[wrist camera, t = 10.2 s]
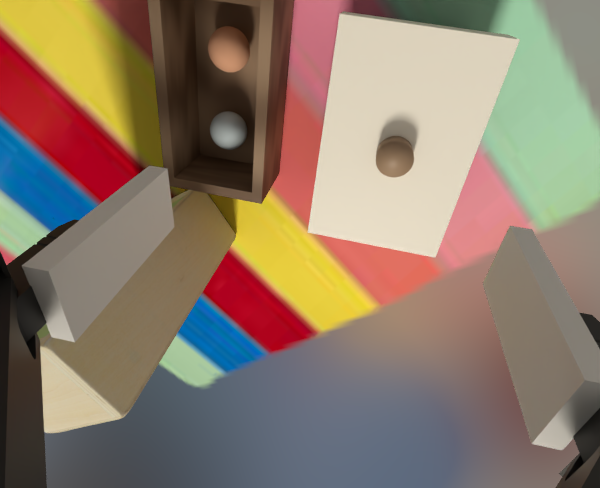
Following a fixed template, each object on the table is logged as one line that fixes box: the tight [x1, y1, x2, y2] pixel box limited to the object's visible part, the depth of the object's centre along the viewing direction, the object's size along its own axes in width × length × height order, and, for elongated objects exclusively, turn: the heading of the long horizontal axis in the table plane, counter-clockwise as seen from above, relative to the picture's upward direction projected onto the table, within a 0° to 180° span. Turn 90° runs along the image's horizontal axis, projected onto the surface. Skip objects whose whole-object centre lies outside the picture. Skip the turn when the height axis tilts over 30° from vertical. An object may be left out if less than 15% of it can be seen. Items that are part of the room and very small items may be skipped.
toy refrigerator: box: [37, 190, 236, 433], centre depth 32 cm, size 8×7×21 cm
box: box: [148, 0, 294, 204], centre depth 29 cm, size 14×8×6 cm, turn 174°
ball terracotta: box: [208, 26, 250, 72], centre depth 28 cm, size 3×3×3 cm
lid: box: [308, 12, 520, 257], centre depth 26 cm, size 15×10×4 cm, turn 174°
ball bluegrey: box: [210, 111, 247, 150], centre depth 32 cm, size 3×3×3 cm
